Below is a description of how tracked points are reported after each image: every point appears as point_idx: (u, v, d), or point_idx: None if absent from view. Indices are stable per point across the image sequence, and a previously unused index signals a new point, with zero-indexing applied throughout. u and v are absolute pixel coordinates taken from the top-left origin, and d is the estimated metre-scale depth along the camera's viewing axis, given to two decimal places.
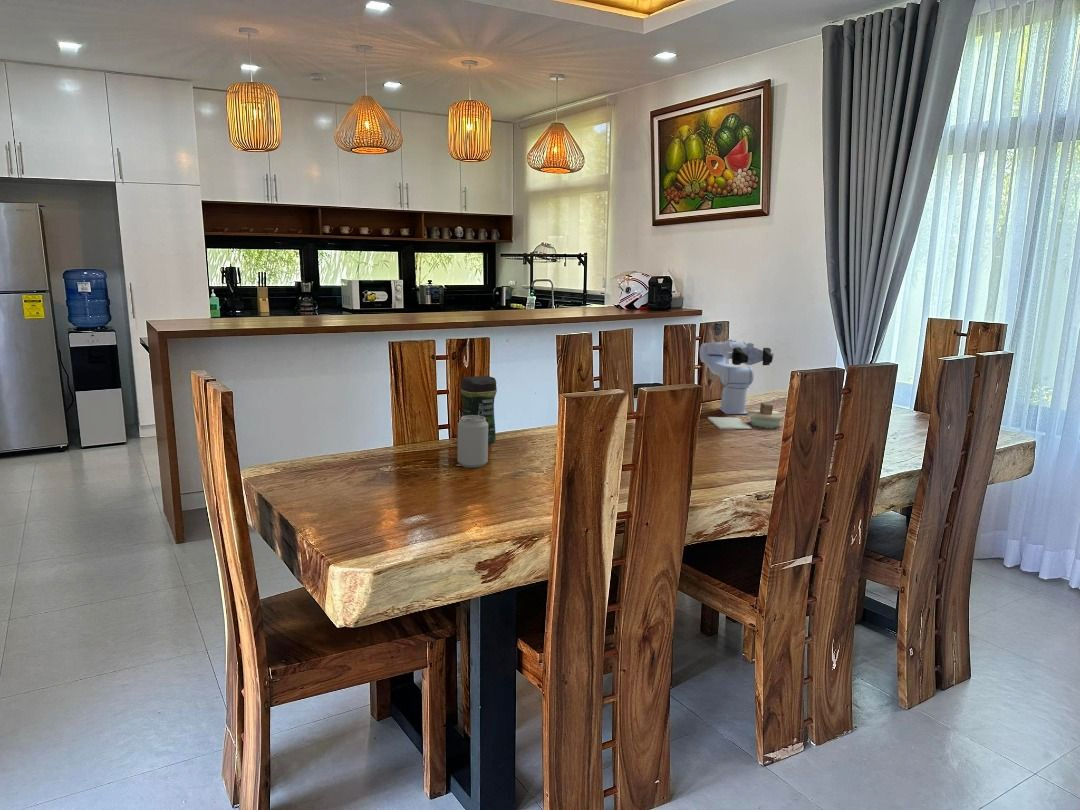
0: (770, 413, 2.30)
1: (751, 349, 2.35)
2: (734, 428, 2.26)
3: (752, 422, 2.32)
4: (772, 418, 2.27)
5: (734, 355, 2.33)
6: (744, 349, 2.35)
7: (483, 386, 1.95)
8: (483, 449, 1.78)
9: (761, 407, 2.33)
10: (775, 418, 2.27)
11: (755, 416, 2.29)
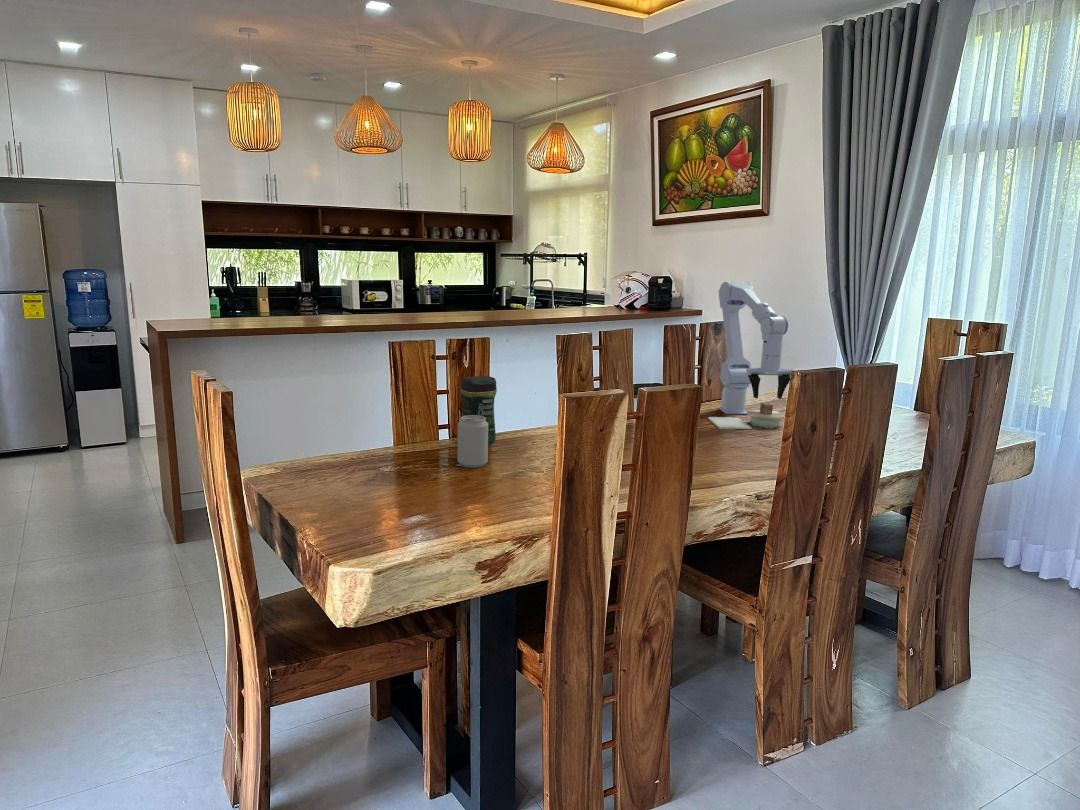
0: (770, 413, 2.30)
1: None
2: (734, 428, 2.26)
3: (752, 422, 2.32)
4: (772, 418, 2.27)
5: (751, 377, 2.29)
6: (766, 372, 2.27)
7: (483, 386, 1.95)
8: (483, 449, 1.78)
9: (761, 407, 2.33)
10: (775, 418, 2.27)
11: (755, 416, 2.29)
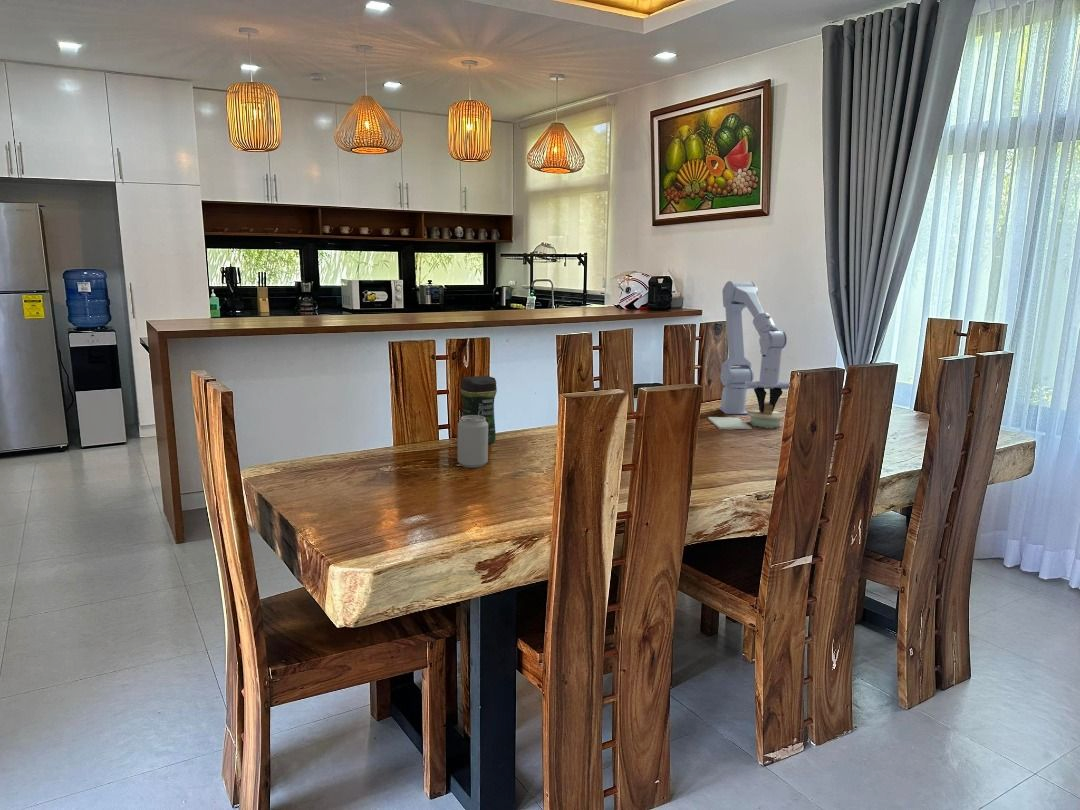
0: (770, 413, 2.30)
1: None
2: (734, 428, 2.26)
3: (752, 422, 2.32)
4: (772, 418, 2.27)
5: None
6: None
7: (483, 386, 1.95)
8: (483, 449, 1.78)
9: None
10: (775, 418, 2.27)
11: (755, 416, 2.29)
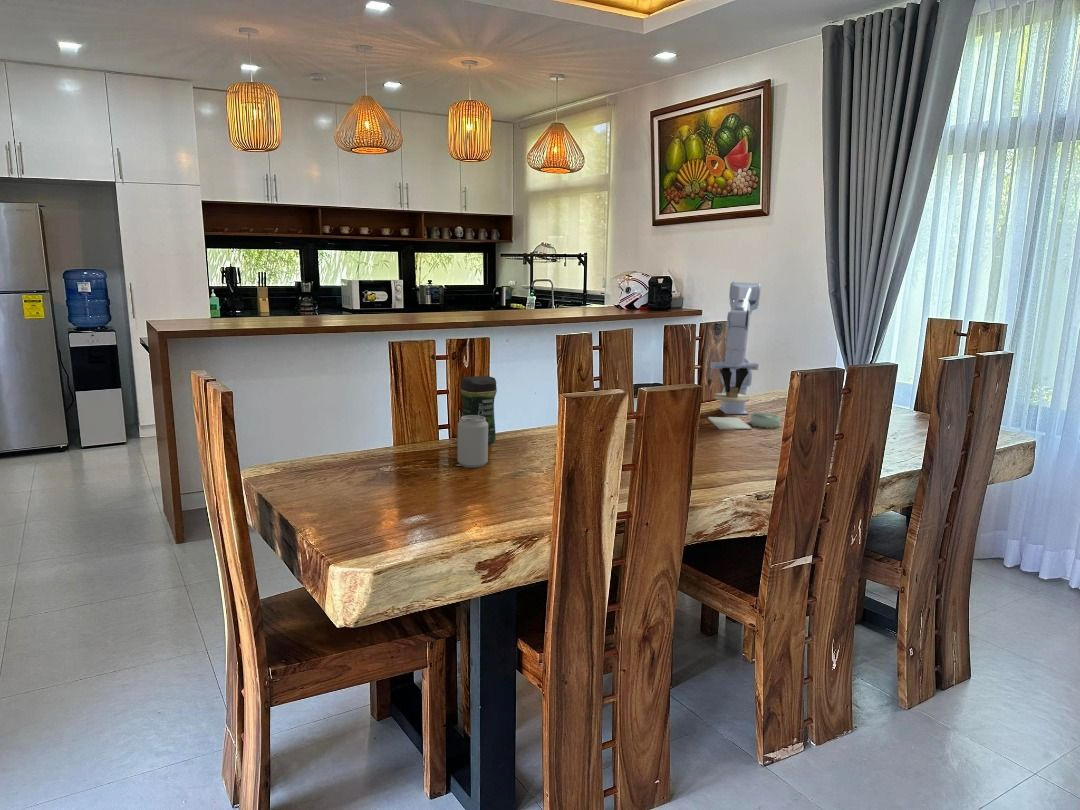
0: (736, 396, 2.29)
1: None
2: (734, 428, 2.26)
3: (752, 422, 2.32)
4: (737, 401, 2.25)
5: (723, 371, 2.29)
6: (730, 366, 2.27)
7: (483, 386, 1.95)
8: (483, 449, 1.78)
9: None
10: (740, 401, 2.26)
11: (720, 399, 2.27)
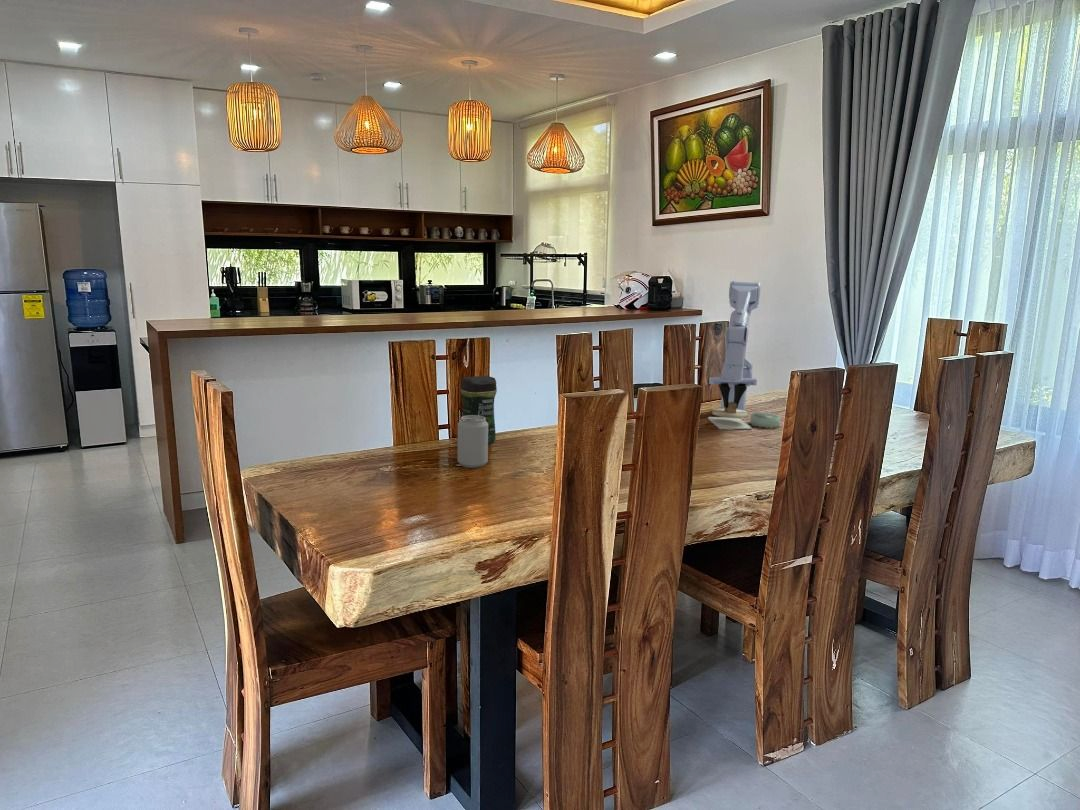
0: (734, 412, 2.30)
1: None
2: (734, 428, 2.26)
3: (752, 422, 2.32)
4: (736, 416, 2.26)
5: (721, 387, 2.30)
6: (728, 382, 2.28)
7: (483, 386, 1.95)
8: (483, 449, 1.78)
9: None
10: (739, 416, 2.27)
11: (719, 415, 2.28)
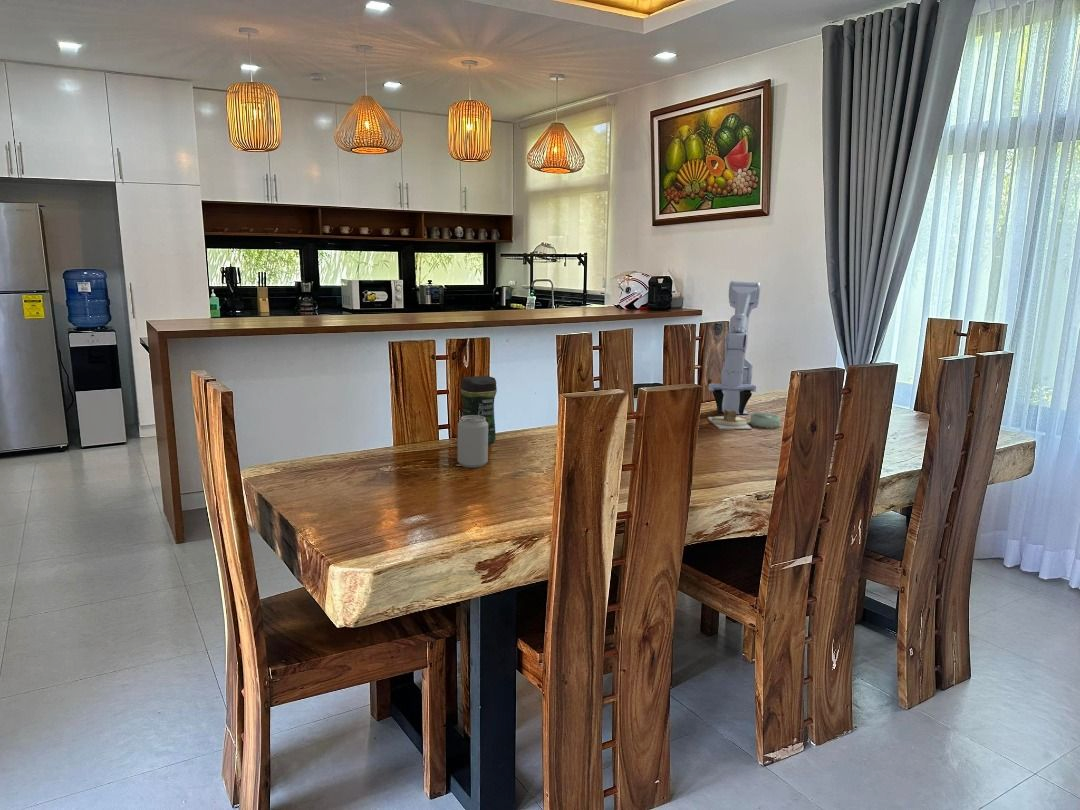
0: (733, 420, 2.30)
1: None
2: (734, 428, 2.26)
3: (752, 422, 2.32)
4: (735, 425, 2.27)
5: None
6: None
7: (483, 386, 1.95)
8: (483, 449, 1.78)
9: (725, 413, 2.33)
10: (738, 425, 2.27)
11: (718, 423, 2.29)
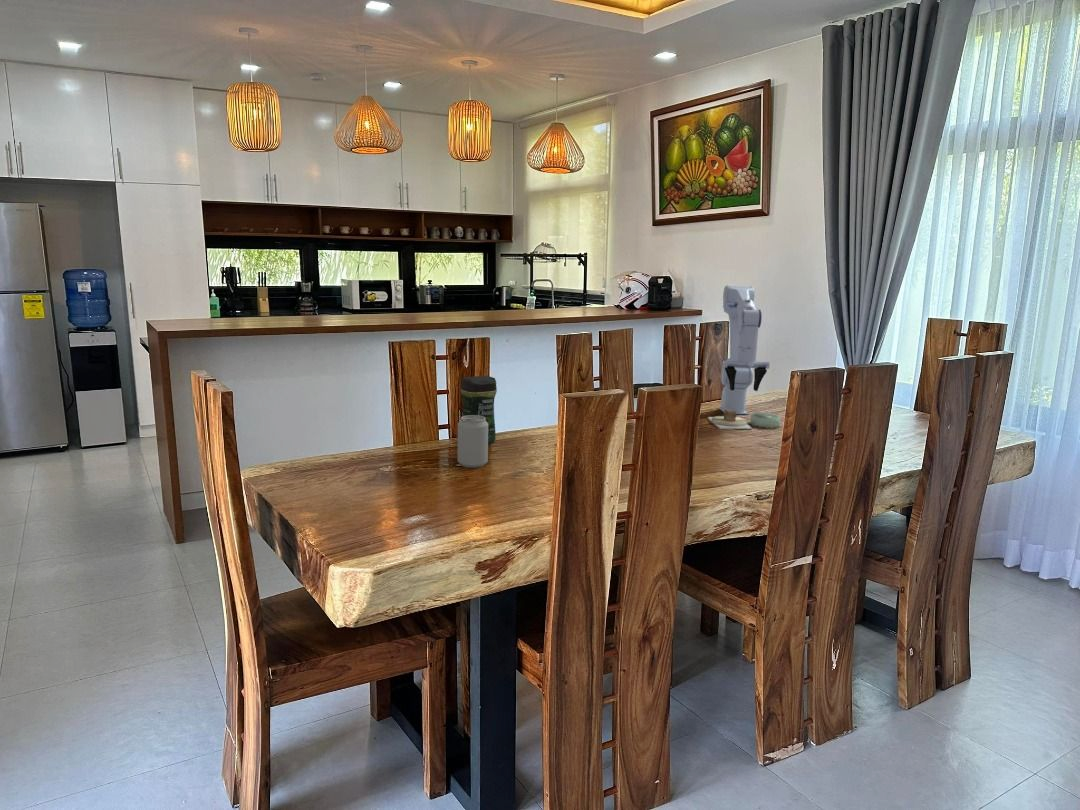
0: (733, 420, 2.30)
1: None
2: (734, 428, 2.26)
3: (752, 422, 2.32)
4: (735, 425, 2.27)
5: (728, 369, 2.32)
6: (742, 364, 2.30)
7: (483, 386, 1.95)
8: (483, 449, 1.79)
9: (725, 413, 2.33)
10: (738, 425, 2.27)
11: (718, 423, 2.29)
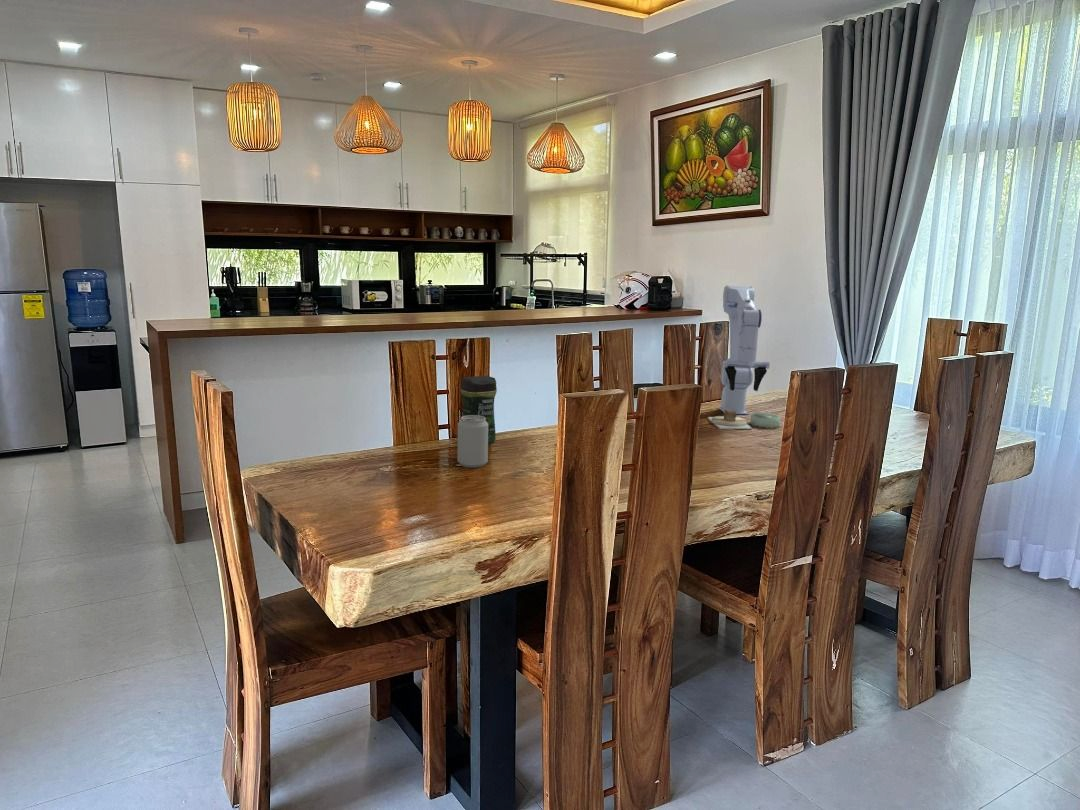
0: (733, 420, 2.30)
1: None
2: (734, 428, 2.26)
3: (752, 422, 2.32)
4: (735, 425, 2.27)
5: (728, 369, 2.32)
6: (742, 364, 2.30)
7: (483, 386, 1.95)
8: (483, 449, 1.78)
9: (725, 413, 2.33)
10: (738, 425, 2.27)
11: (718, 423, 2.29)
